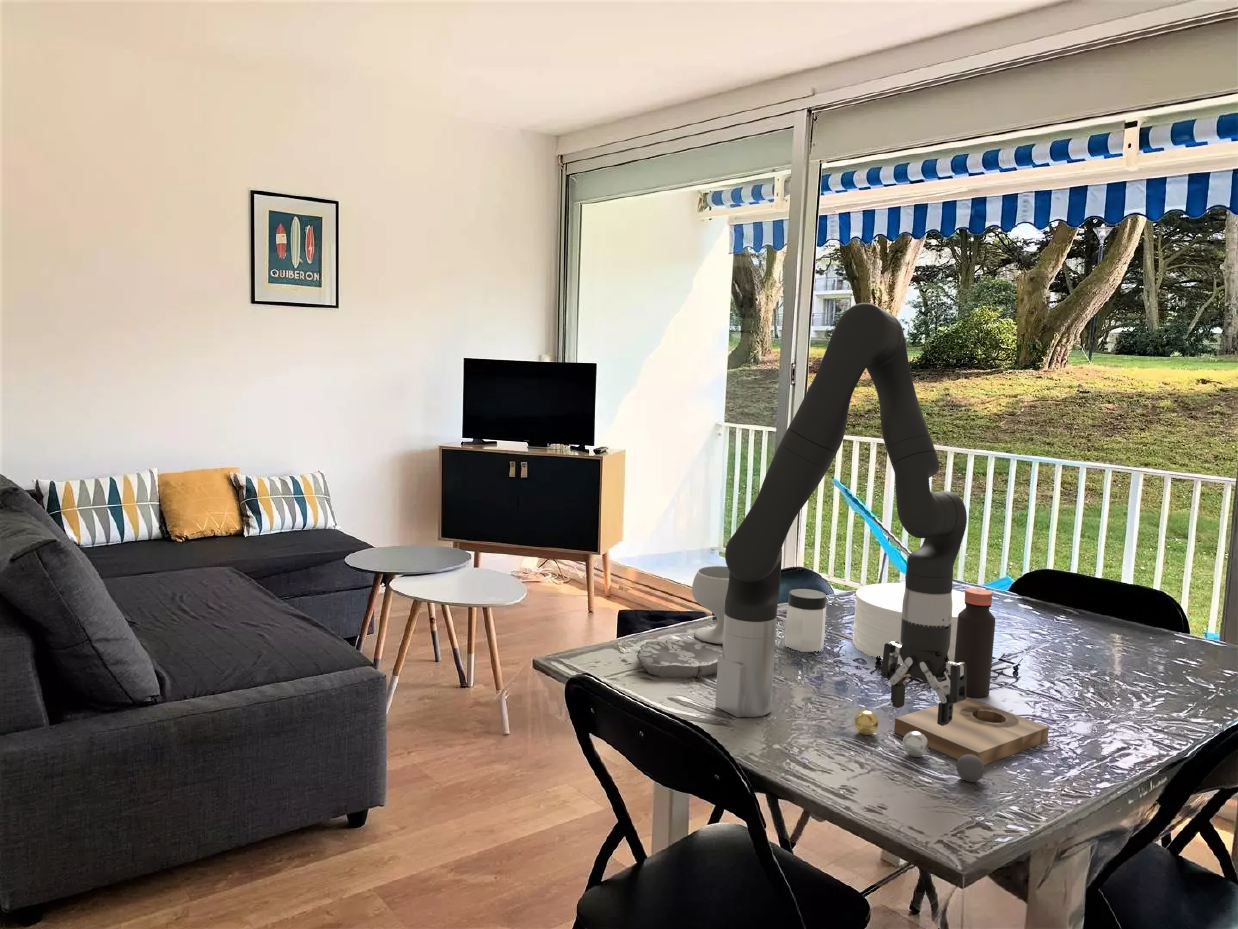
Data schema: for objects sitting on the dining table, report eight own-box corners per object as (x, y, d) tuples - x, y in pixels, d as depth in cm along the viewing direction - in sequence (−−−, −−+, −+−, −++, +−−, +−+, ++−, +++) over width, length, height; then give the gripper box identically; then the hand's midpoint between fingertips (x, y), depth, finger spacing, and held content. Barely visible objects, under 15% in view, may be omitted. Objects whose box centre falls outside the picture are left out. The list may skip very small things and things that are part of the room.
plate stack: (852, 661, 195) (856, 608, 194) (852, 625, 222) (855, 578, 221) (994, 677, 188) (998, 622, 187) (975, 637, 215) (979, 589, 214)
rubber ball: (973, 789, 138) (975, 763, 137) (949, 778, 141) (951, 753, 141) (988, 782, 140) (991, 757, 140) (965, 772, 143) (967, 747, 143)
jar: (832, 648, 202) (835, 595, 201) (808, 655, 197) (811, 600, 196) (800, 638, 209) (803, 586, 208) (776, 644, 204) (779, 591, 203)
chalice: (703, 649, 199) (706, 581, 197) (680, 629, 212) (683, 565, 211) (762, 645, 203) (766, 578, 201) (737, 626, 216) (740, 564, 215)
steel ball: (917, 763, 146) (918, 739, 145) (896, 754, 149) (898, 730, 149) (932, 758, 148) (934, 734, 148) (912, 748, 151) (913, 725, 151)
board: (977, 768, 145) (978, 752, 145) (894, 732, 158) (895, 718, 158) (1047, 741, 157) (1048, 727, 156) (964, 709, 170) (965, 696, 169)
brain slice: (702, 649, 200) (703, 636, 199) (742, 675, 184) (742, 661, 184) (618, 657, 192) (619, 644, 192) (652, 686, 177) (653, 670, 176)
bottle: (991, 690, 180) (1000, 590, 178) (985, 701, 174) (994, 597, 172) (955, 683, 183) (963, 585, 181) (948, 693, 178) (956, 592, 175)
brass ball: (867, 740, 154) (868, 717, 154) (848, 732, 157) (849, 709, 157) (882, 735, 156) (884, 713, 156) (864, 727, 160) (865, 705, 159)
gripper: (874, 609, 150) (869, 706, 152) (951, 632, 138) (944, 736, 140) (904, 603, 154) (898, 697, 156) (980, 624, 143) (973, 725, 145)
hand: (920, 715), depth 148 cm, fingers open, 8 cm apart
